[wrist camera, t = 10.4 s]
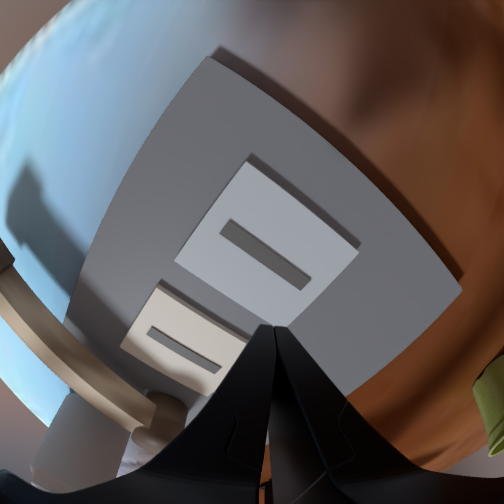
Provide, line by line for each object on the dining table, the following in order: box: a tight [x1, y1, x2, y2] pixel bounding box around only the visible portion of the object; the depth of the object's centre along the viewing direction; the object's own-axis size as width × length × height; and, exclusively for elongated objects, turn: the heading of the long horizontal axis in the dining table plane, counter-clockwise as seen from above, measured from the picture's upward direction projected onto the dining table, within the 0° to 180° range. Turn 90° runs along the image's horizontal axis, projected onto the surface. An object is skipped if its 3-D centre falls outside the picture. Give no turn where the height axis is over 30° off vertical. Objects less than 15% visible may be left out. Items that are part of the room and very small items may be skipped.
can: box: [30, 393, 131, 493], centre depth 17 cm, size 8×8×12 cm
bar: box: [0, 238, 188, 454], centre depth 15 cm, size 20×4×4 cm, turn 39°
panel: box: [63, 56, 463, 445], centre depth 17 cm, size 20×24×1 cm
